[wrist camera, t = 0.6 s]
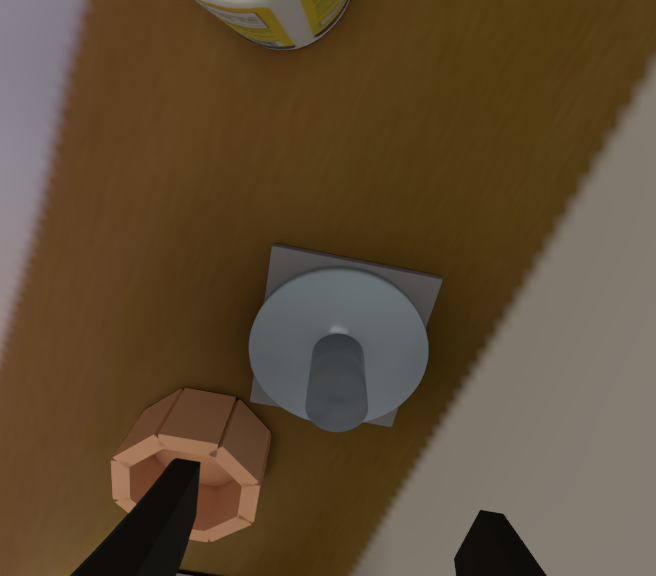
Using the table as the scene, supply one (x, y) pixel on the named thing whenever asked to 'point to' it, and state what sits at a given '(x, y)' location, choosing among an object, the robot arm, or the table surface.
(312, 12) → the supplement bottle
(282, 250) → the mat
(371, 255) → the table surface
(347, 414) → the lid
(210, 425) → the bowl
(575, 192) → the table surface
